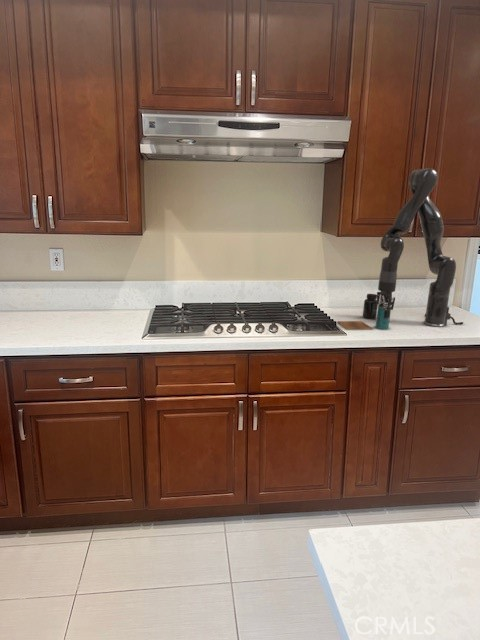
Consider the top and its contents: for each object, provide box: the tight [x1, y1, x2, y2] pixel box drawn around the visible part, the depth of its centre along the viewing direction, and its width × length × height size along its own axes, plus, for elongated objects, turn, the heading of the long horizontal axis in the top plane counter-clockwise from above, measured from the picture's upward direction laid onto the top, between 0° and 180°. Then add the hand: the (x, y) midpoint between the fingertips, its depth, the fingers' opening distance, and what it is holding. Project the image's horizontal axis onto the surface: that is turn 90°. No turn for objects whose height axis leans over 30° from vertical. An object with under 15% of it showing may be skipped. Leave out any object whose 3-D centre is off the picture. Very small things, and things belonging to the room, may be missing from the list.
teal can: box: [375, 306, 392, 331], centre depth 216 cm, size 6×6×10 cm
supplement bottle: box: [362, 293, 378, 320], centre depth 234 cm, size 7×7×12 cm
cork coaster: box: [337, 320, 373, 330], centre depth 219 cm, size 12×12×1 cm
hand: (383, 316), depth 216 cm, fingers closed on teal can, 5 cm apart
